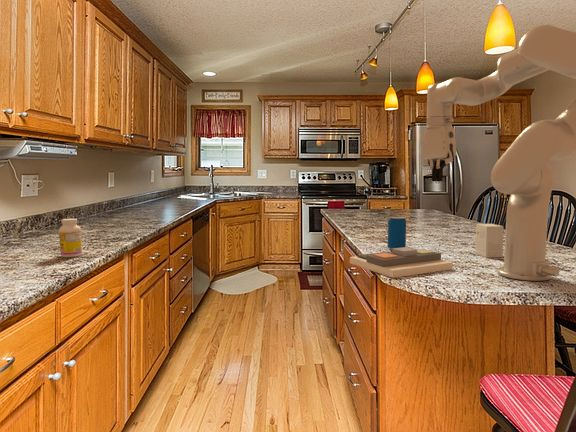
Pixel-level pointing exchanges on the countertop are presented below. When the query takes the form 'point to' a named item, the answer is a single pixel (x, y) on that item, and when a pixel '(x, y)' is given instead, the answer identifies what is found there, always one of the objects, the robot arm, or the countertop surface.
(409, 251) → the key slate
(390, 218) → the beverage can
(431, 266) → the keypad
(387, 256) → the key terracotta
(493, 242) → the small box
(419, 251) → the key sage
